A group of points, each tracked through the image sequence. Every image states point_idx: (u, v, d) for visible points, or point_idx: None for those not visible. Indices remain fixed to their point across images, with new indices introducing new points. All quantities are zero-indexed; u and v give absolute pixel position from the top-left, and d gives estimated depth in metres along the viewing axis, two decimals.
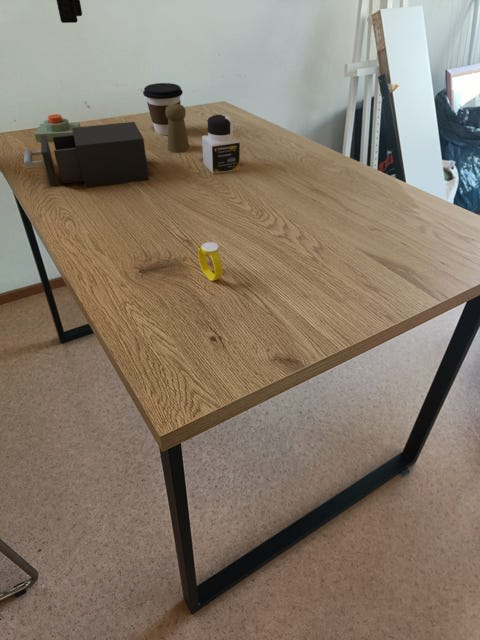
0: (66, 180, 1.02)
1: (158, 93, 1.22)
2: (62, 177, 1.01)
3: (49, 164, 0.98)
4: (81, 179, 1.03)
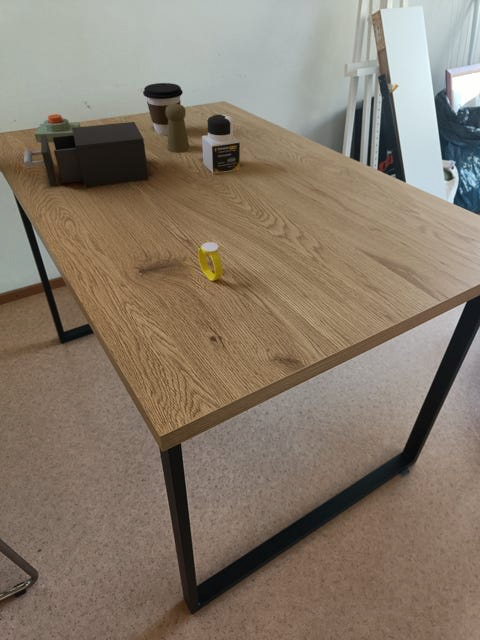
0: (66, 180, 1.02)
1: (158, 93, 1.22)
2: (62, 177, 1.01)
3: (49, 164, 0.98)
4: (81, 179, 1.03)
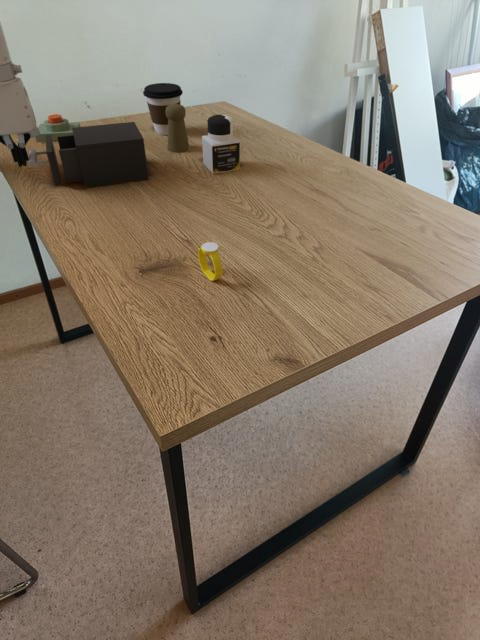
0: (71, 179, 1.02)
1: (158, 93, 1.22)
2: (67, 176, 1.02)
3: (54, 163, 0.98)
4: None
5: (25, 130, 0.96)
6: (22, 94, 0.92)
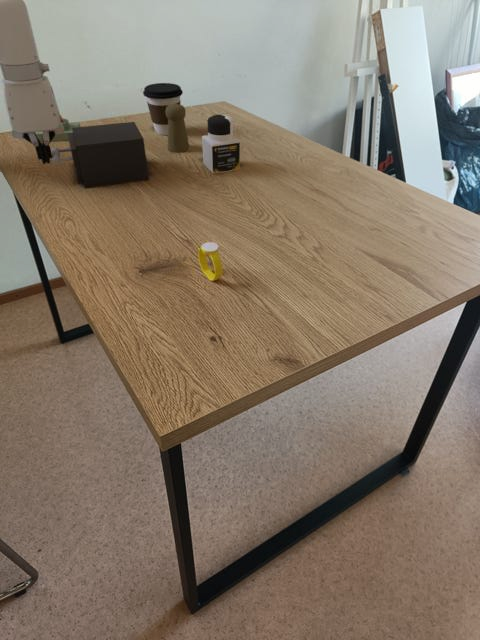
0: None
1: (158, 93, 1.22)
2: None
3: (78, 161, 1.00)
4: None
5: (50, 128, 0.97)
6: (49, 92, 0.93)
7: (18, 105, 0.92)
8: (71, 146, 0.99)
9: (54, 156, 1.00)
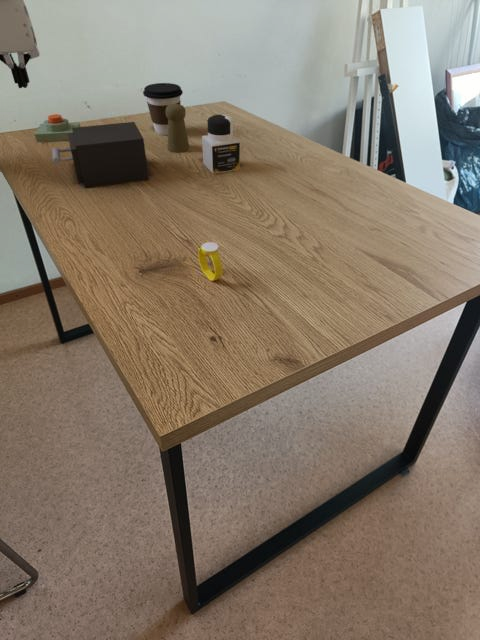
0: None
1: (158, 93, 1.22)
2: None
3: (78, 161, 1.00)
4: None
5: (24, 49, 0.99)
6: (21, 11, 0.95)
7: None
8: (71, 146, 0.99)
9: (54, 156, 1.00)
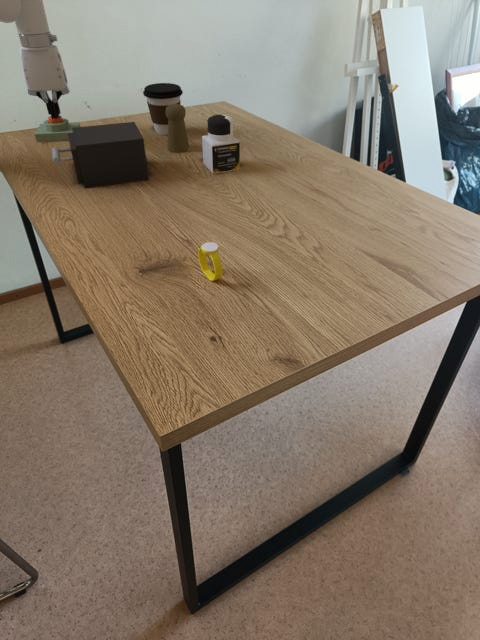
0: None
1: (158, 93, 1.22)
2: None
3: (78, 161, 1.00)
4: None
5: (57, 88, 1.20)
6: (56, 58, 1.16)
7: (31, 68, 1.16)
8: (71, 146, 0.99)
9: (54, 156, 1.00)
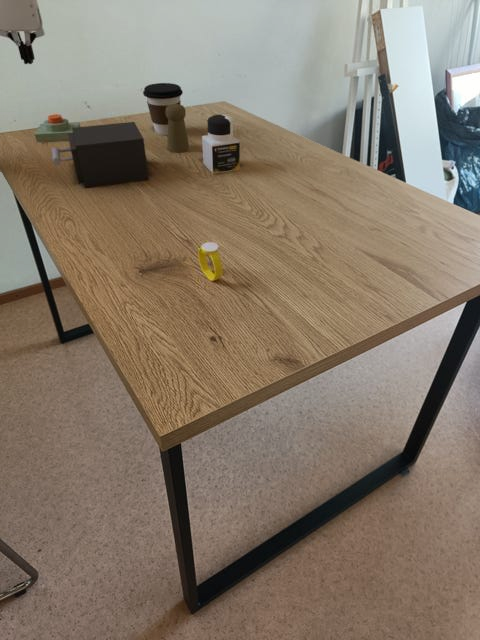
0: None
1: (158, 93, 1.22)
2: None
3: (78, 161, 1.00)
4: None
5: (30, 28, 1.10)
6: None
7: (1, 3, 1.05)
8: (71, 146, 0.99)
9: (54, 156, 1.00)
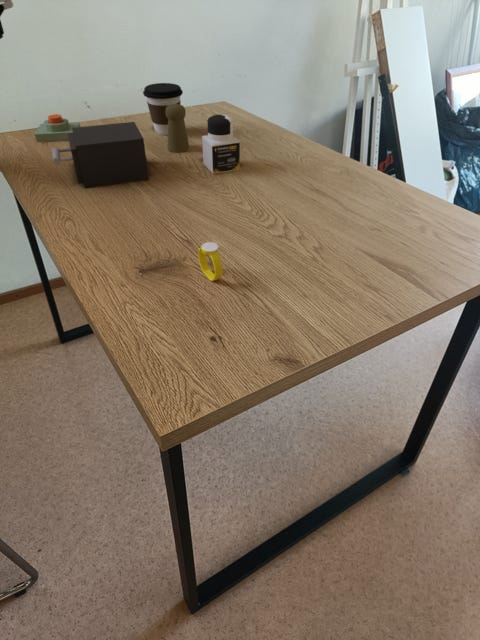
0: None
1: (158, 93, 1.22)
2: None
3: (78, 161, 1.00)
4: None
5: None
6: None
7: None
8: (71, 146, 0.99)
9: (54, 156, 1.00)
